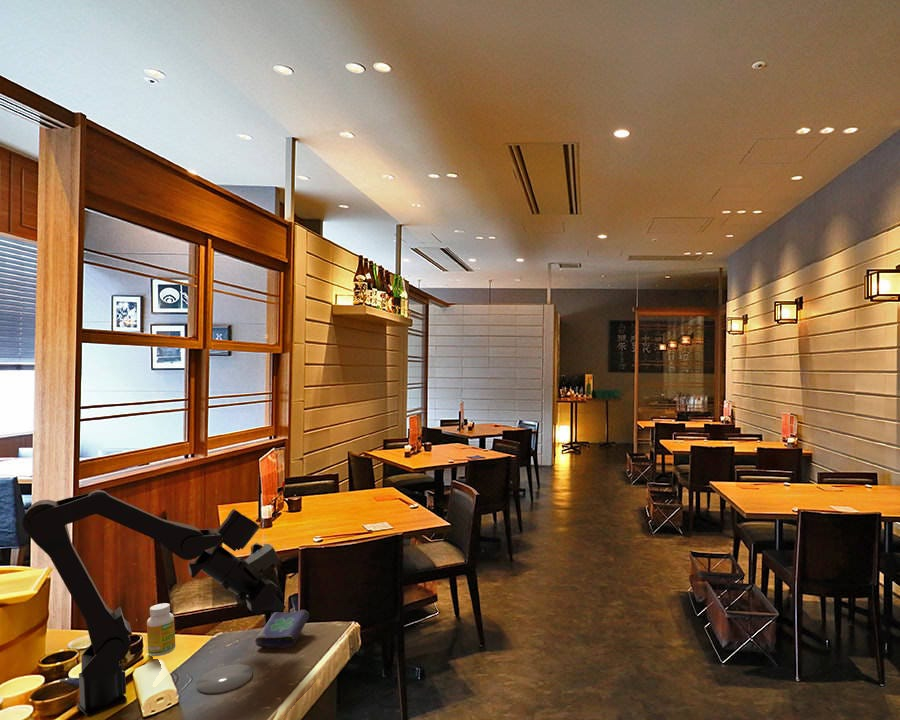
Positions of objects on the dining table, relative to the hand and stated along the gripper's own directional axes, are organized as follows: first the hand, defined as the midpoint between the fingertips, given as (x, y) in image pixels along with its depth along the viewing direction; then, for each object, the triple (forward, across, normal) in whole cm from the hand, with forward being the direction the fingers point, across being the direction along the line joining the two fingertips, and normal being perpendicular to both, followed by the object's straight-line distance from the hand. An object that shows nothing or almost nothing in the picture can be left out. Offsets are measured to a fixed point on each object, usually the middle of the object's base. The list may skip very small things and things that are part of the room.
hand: (283, 608), depth 126 cm
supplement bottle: (-10, +18, +22) cm, 30 cm away
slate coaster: (-4, -6, +16) cm, 17 cm away
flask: (+3, +1, +6) cm, 7 cm away
